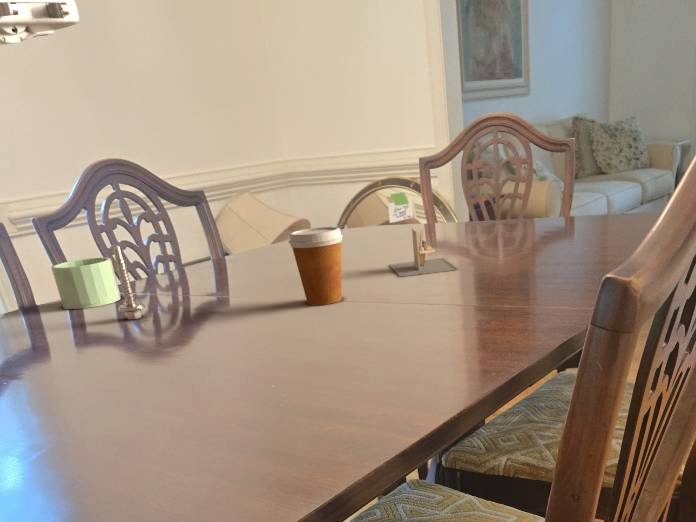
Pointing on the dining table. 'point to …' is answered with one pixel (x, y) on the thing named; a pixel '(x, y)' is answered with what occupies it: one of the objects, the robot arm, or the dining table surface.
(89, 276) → the green cup
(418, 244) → the architectural model
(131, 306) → the screw
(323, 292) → the disposable coffee cup
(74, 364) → the dining table surface
